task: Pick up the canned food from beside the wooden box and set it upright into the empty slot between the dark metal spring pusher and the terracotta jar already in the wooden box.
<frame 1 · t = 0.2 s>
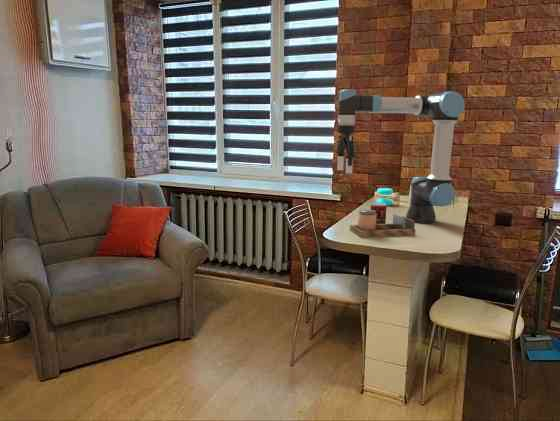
hand: (344, 171, 201), 27 cm above the table, fingers open, 13 cm apart
canned food: (377, 225, 215), on the table
pusher: (401, 223, 198), point 5 cm above the table, slide at 0.0 cm
wooden box: (381, 234, 197), on the table
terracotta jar: (366, 233, 195), point 1 cm above the table, touching wooden box
donuts: (384, 204, 275), on the table
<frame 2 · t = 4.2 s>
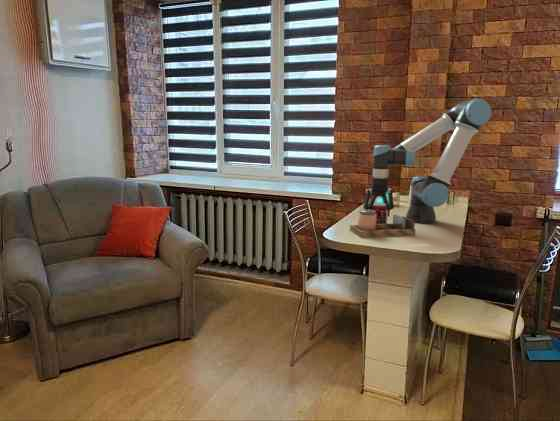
hand: (377, 223, 215), 1 cm above the table, fingers closed on canned food, 8 cm apart
canned food: (377, 225, 215), on the table, touching gripper
everything else where it was.
when the fingers open (5 cm above the table, at t = 11.0 s): canned food drops 2 cm, resting on wooden box.
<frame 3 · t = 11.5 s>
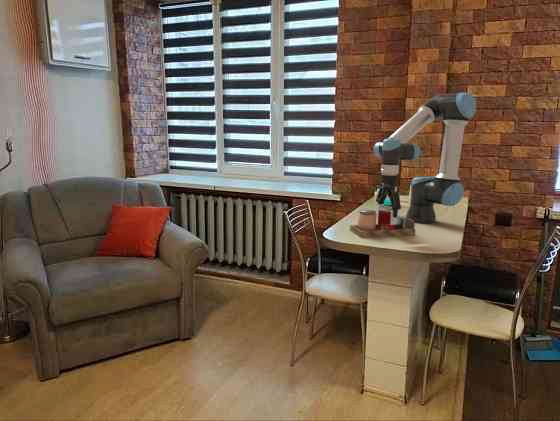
hand: (386, 221, 196), 6 cm above the table, fingers open, 13 cm apart
canned food: (386, 232, 197), point 1 cm above the table, touching wooden box
everything else where it was.
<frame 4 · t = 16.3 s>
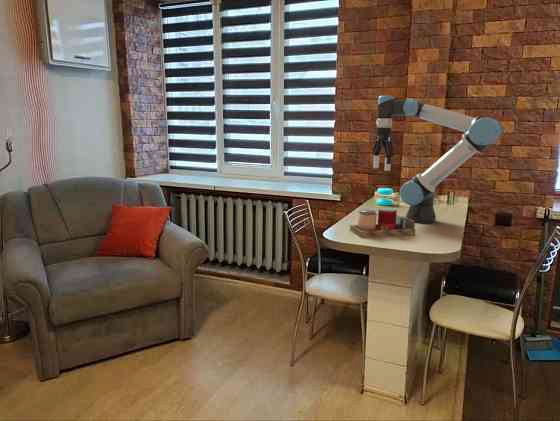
hand: (381, 169, 223), 27 cm above the table, fingers open, 13 cm apart
nothing on the table moved.
at the end: canned food 0.2 cm from the target spot on the wooden box, point 0.8 cm above the wooden box's base; canned food tilted 0°; the gripper is holding nothing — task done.
